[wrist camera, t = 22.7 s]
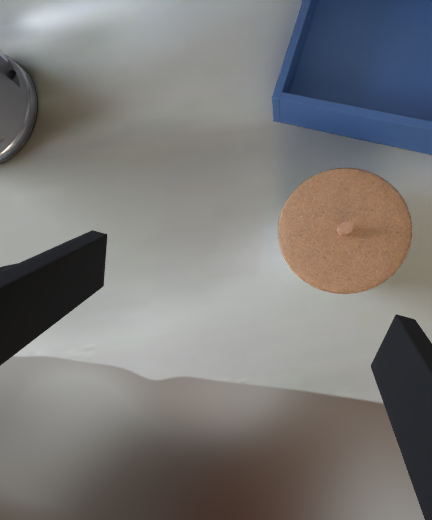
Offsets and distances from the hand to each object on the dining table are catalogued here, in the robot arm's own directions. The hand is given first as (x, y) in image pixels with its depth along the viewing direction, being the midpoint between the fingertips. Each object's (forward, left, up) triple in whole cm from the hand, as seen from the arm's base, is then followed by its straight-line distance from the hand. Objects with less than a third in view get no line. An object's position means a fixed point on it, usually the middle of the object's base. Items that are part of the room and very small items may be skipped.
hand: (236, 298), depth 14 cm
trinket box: (+5, +7, -22) cm, 24 cm away
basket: (+5, +27, -22) cm, 35 cm away
